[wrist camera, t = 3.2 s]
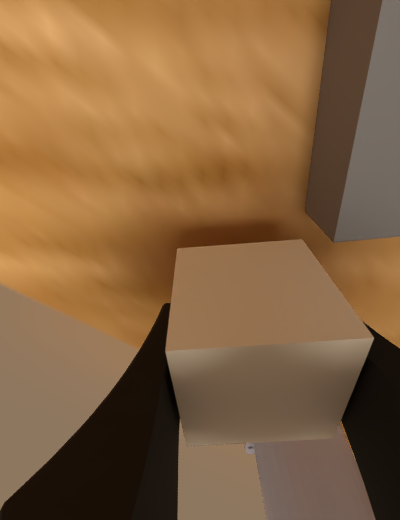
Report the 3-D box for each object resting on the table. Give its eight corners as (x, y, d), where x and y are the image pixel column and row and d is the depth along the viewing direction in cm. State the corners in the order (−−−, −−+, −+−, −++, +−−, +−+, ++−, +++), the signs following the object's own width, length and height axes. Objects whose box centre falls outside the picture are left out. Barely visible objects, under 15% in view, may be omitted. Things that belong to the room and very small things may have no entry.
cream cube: (289, 327, 13) (333, 438, 9) (189, 333, 13) (186, 446, 9) (302, 239, 10) (374, 337, 6) (177, 248, 11) (165, 350, 6)
